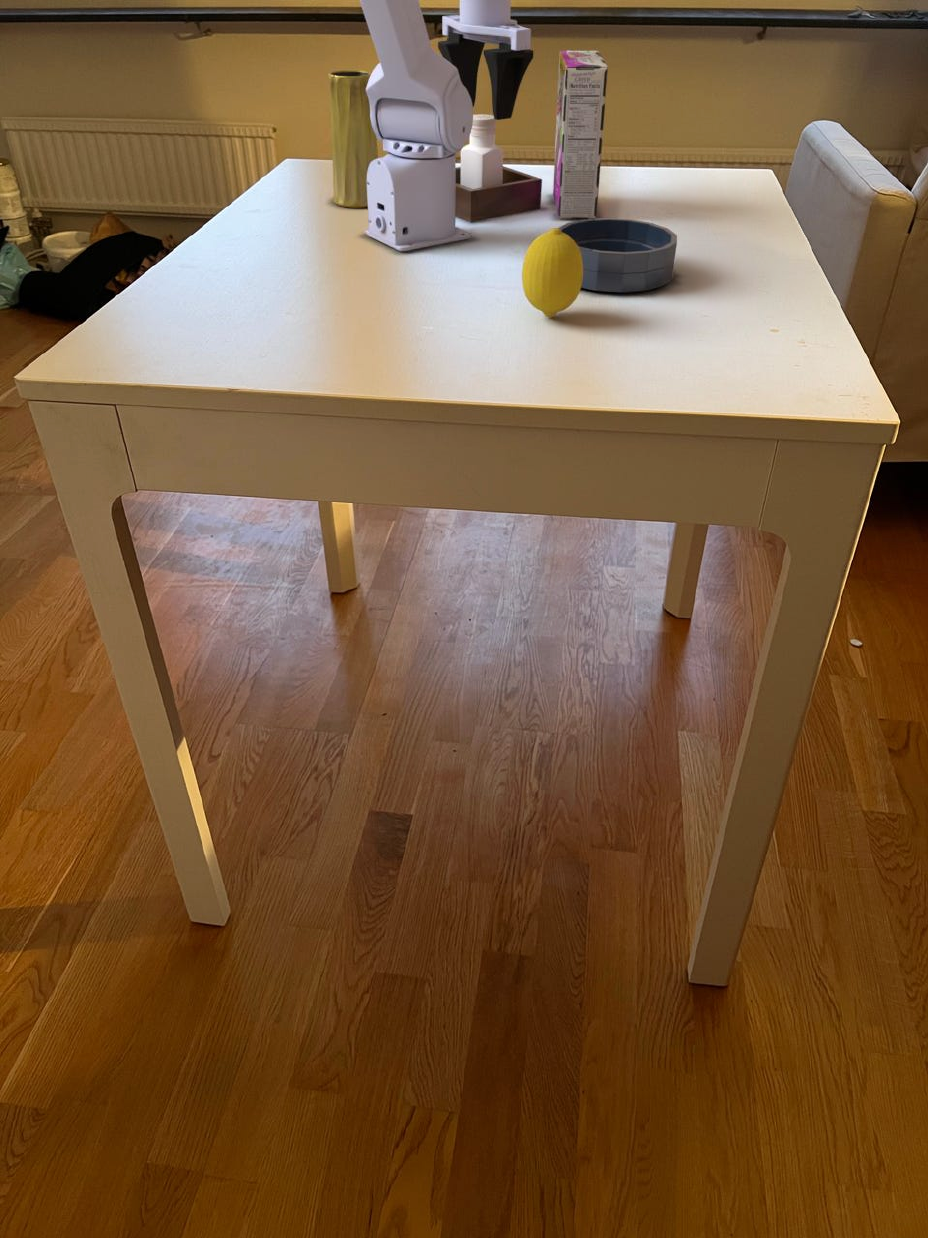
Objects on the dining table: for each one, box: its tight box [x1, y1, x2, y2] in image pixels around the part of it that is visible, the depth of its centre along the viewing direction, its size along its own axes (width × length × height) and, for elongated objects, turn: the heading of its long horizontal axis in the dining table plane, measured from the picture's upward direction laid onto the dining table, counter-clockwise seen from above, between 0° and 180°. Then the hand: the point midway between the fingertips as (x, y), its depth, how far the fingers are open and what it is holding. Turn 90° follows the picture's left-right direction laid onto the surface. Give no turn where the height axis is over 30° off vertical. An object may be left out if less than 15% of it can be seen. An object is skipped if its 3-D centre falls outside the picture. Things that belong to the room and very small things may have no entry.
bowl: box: [557, 217, 678, 293], centre depth 98 cm, size 12×12×4 cm
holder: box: [455, 165, 543, 223], centre depth 119 cm, size 11×11×4 cm
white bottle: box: [460, 113, 504, 189], centre depth 117 cm, size 4×4×10 cm
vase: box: [327, 69, 379, 209], centre depth 117 cm, size 6×6×14 cm
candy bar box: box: [552, 49, 609, 221], centre depth 115 cm, size 11×5×16 cm, turn 179°
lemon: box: [521, 227, 583, 319], centre depth 87 cm, size 6×6×8 cm
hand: (483, 112), depth 114 cm, fingers open, 7 cm apart
